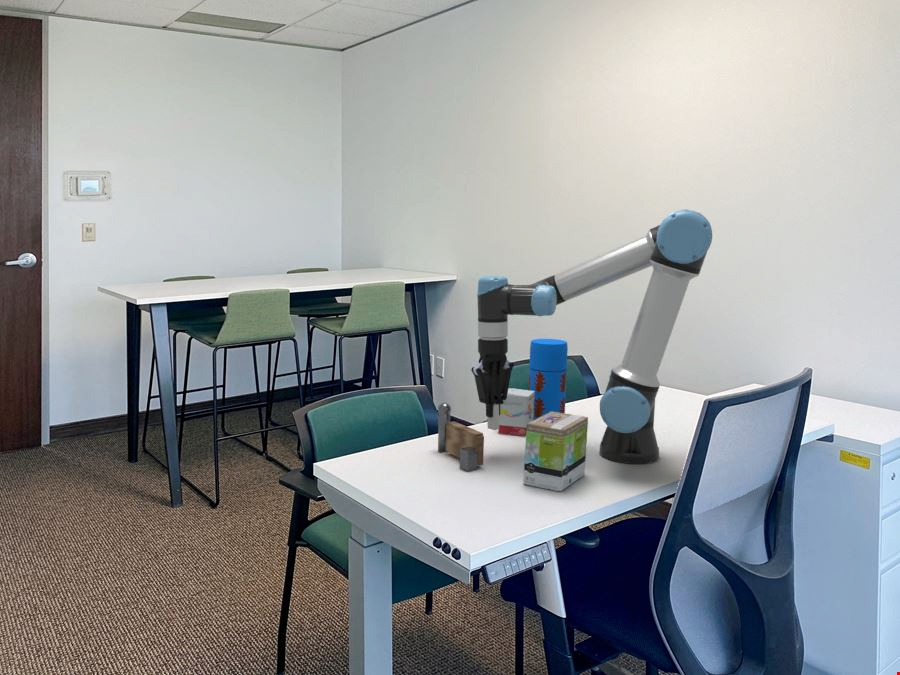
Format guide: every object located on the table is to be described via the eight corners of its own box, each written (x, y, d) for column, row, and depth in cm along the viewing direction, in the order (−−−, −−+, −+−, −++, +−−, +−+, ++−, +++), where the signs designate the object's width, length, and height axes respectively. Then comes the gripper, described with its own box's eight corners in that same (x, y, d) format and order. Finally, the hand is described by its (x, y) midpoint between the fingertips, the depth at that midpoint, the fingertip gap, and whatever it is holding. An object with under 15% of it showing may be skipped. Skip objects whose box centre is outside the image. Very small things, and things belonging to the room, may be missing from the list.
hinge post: (452, 451, 212) (453, 403, 210) (442, 453, 210) (443, 405, 208) (444, 448, 215) (445, 400, 213) (434, 450, 213) (435, 402, 211)
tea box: (562, 493, 183) (565, 429, 181) (522, 485, 188) (524, 422, 186) (586, 475, 196) (588, 415, 194) (547, 467, 201) (549, 409, 199)
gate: (445, 451, 210) (445, 421, 209) (452, 450, 211) (453, 420, 210) (476, 466, 198) (476, 435, 197) (483, 464, 199) (484, 433, 198)
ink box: (527, 437, 228) (528, 395, 226) (497, 433, 231) (498, 392, 229) (533, 429, 236) (535, 389, 234) (505, 426, 239) (506, 386, 237)
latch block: (476, 469, 198) (477, 449, 198) (467, 471, 196) (468, 451, 196) (468, 466, 201) (469, 446, 200) (459, 468, 199) (460, 448, 198)
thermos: (554, 431, 233) (557, 345, 230) (521, 425, 239) (523, 341, 235) (570, 424, 242) (573, 341, 239) (537, 418, 248) (541, 337, 244)
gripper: (501, 333, 212) (501, 421, 216) (463, 338, 204) (464, 430, 208) (521, 336, 207) (521, 427, 210) (483, 342, 198) (484, 436, 202)
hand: (493, 428), depth 209 cm, fingers closed
